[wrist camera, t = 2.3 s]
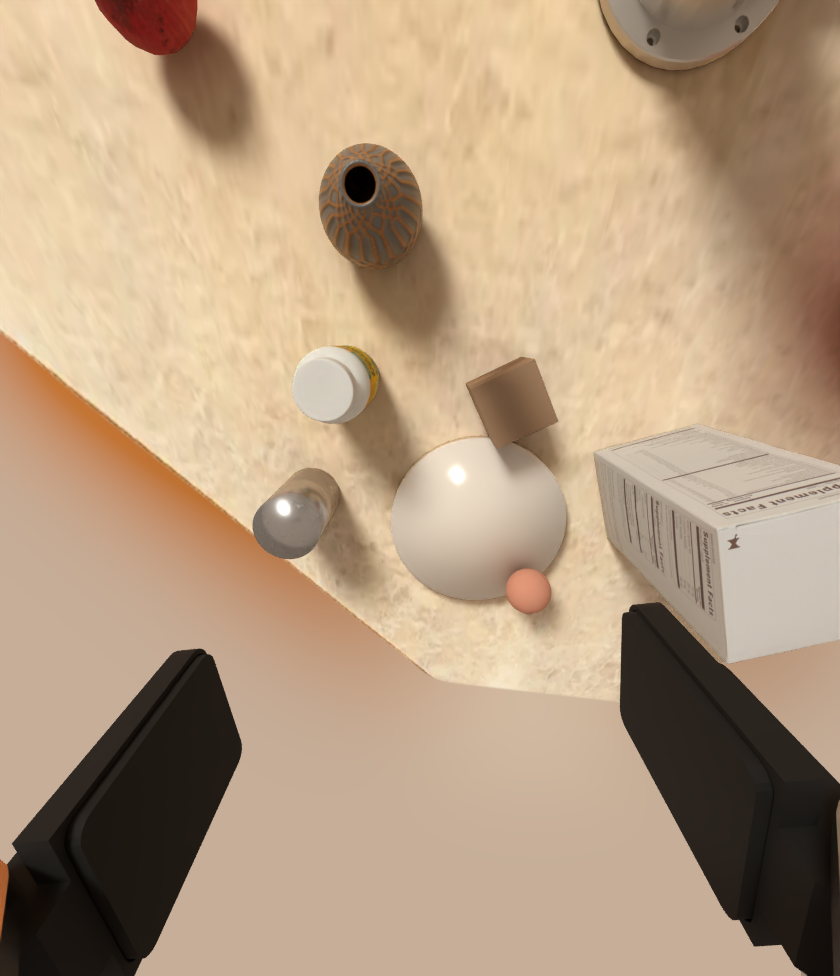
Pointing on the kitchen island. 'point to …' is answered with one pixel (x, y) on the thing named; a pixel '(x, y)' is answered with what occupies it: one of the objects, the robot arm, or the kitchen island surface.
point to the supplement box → (730, 536)
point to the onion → (152, 22)
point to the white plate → (477, 517)
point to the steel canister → (296, 514)
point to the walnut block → (512, 401)
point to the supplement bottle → (335, 383)
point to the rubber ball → (528, 590)
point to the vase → (370, 206)
